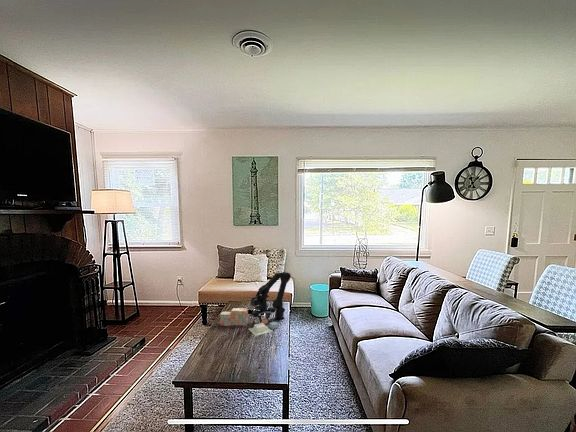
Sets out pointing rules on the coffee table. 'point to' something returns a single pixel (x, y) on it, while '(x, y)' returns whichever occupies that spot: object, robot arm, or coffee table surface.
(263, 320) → the brick terracotta
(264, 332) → the baseplate
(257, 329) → the brick cream
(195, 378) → the coffee table surface
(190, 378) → the coffee table surface
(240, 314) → the stack of blocks
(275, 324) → the brick blue
